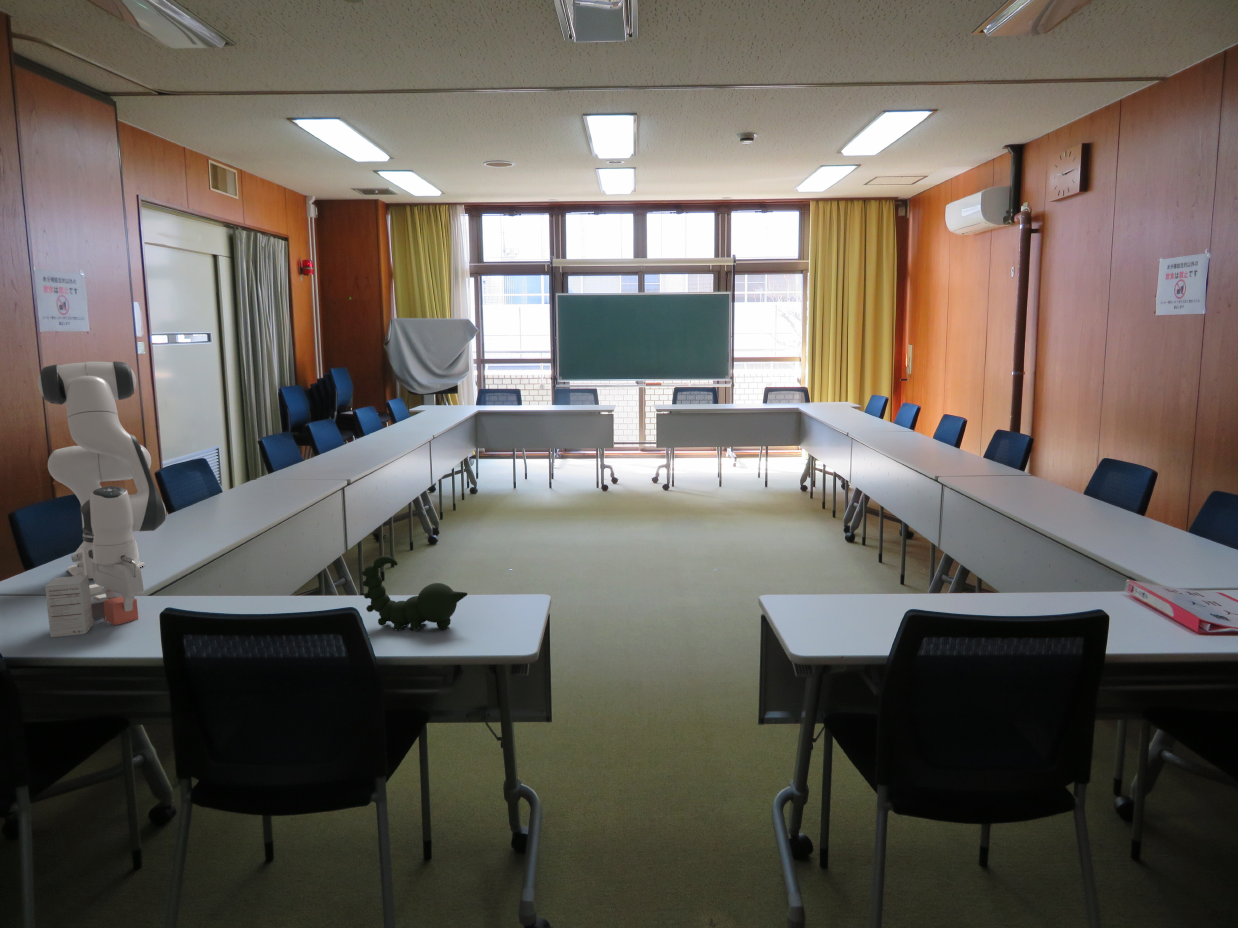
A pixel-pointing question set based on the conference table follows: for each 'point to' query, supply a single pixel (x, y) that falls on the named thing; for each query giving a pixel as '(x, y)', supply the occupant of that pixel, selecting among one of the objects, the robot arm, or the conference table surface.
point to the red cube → (119, 611)
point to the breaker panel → (99, 606)
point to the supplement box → (69, 605)
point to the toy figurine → (409, 601)
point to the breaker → (95, 589)
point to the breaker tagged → (101, 597)
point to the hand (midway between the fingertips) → (120, 607)
